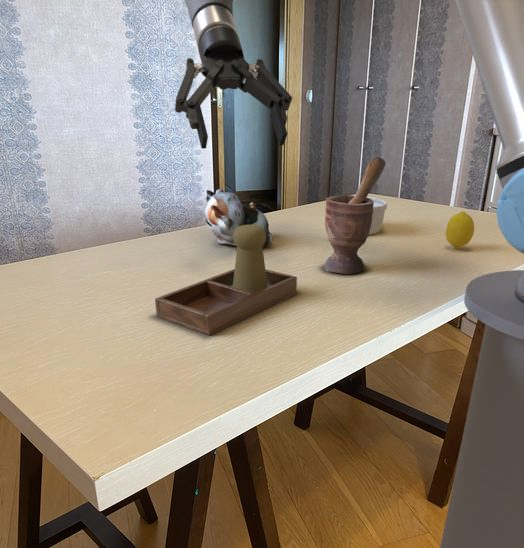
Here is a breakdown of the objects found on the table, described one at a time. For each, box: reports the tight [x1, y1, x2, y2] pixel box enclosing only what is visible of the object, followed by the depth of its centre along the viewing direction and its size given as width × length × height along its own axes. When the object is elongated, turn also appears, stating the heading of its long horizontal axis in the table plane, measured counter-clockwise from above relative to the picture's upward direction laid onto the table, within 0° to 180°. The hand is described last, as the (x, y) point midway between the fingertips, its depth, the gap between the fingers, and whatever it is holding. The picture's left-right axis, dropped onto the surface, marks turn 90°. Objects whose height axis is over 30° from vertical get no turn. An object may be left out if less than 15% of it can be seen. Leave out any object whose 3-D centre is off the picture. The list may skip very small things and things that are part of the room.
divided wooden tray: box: [154, 268, 298, 337], centre depth 85 cm, size 11×21×3 cm, turn 142°
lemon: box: [445, 210, 475, 250], centre depth 112 cm, size 6×6×8 cm
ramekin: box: [366, 196, 388, 236], centre depth 127 cm, size 13×13×7 cm
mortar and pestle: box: [324, 156, 386, 275], centre depth 98 cm, size 12×9×20 cm
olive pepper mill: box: [233, 225, 268, 293], centre depth 86 cm, size 6×6×11 cm
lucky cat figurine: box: [204, 188, 274, 249], centre depth 114 cm, size 15×12×14 cm
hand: (244, 141), depth 88 cm, fingers open, 13 cm apart
